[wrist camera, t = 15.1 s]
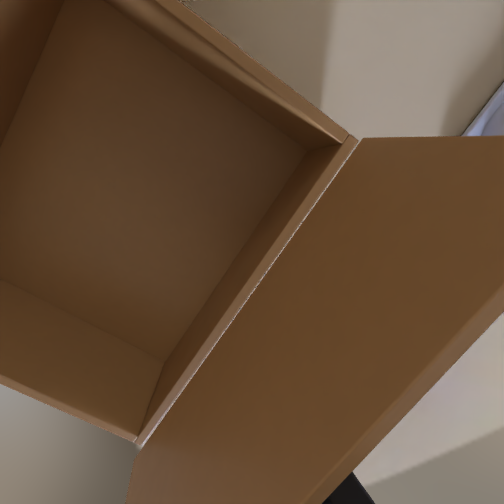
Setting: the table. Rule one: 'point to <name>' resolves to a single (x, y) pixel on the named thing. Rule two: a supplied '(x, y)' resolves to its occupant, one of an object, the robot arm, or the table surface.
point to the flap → (341, 329)
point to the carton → (138, 198)
